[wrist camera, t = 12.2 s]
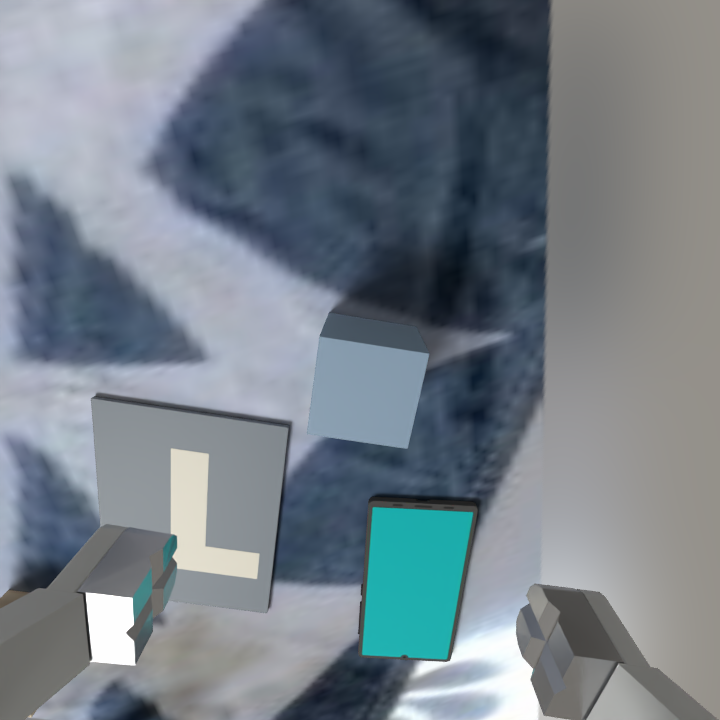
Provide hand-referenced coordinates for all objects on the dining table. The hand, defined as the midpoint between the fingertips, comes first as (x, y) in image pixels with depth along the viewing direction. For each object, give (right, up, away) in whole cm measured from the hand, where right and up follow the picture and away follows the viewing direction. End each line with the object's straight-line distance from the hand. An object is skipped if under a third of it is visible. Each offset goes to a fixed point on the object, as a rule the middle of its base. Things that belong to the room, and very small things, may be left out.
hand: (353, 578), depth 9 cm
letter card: (-12, -6, +18) cm, 22 cm away
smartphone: (+4, -11, +20) cm, 24 cm away
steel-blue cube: (0, +5, +14) cm, 15 cm away
